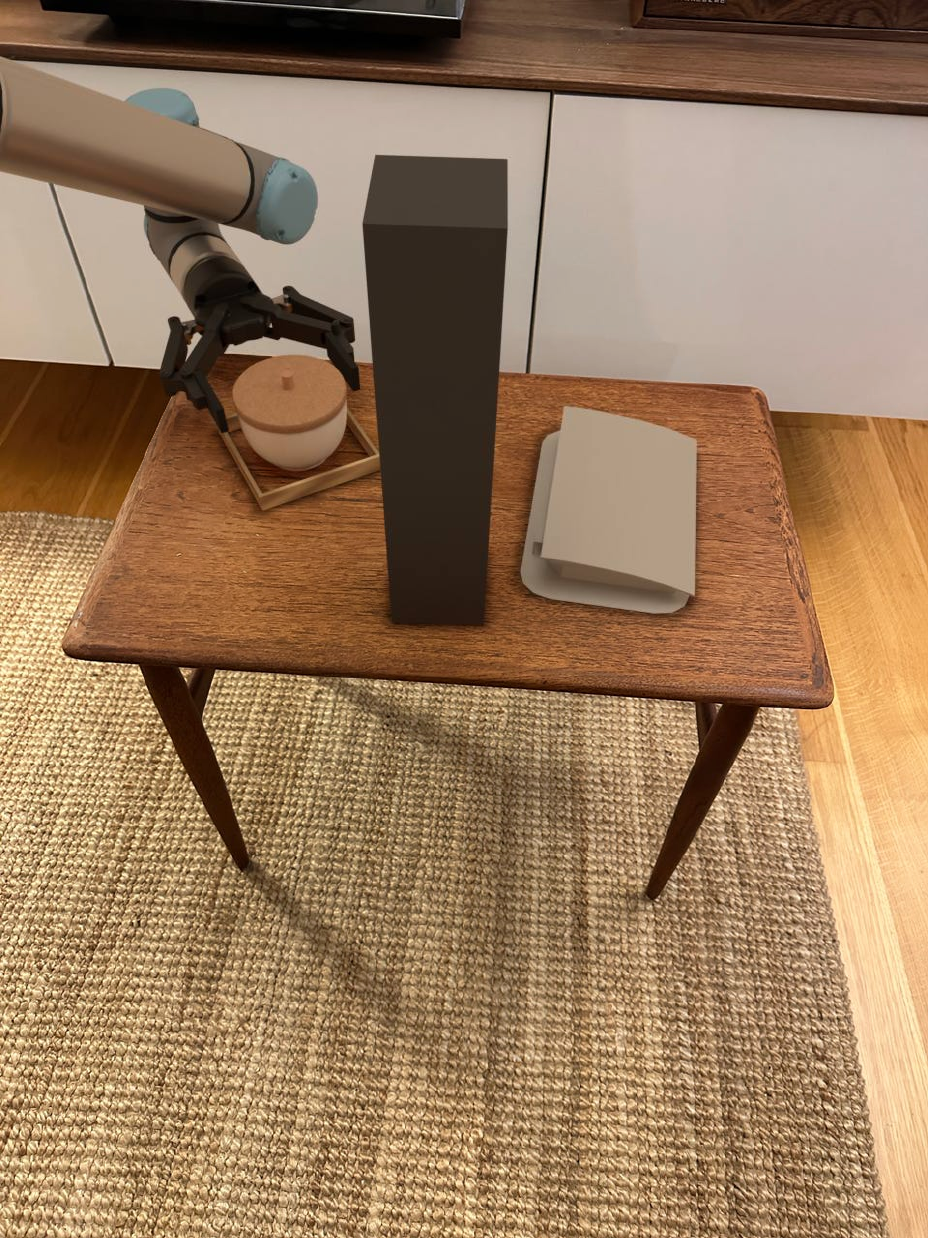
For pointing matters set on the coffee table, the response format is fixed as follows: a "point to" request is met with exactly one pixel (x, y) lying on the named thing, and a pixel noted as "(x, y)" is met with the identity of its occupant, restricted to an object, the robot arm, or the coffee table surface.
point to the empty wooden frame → (310, 483)
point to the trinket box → (292, 410)
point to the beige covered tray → (613, 514)
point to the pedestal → (436, 373)
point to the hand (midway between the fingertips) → (291, 400)
